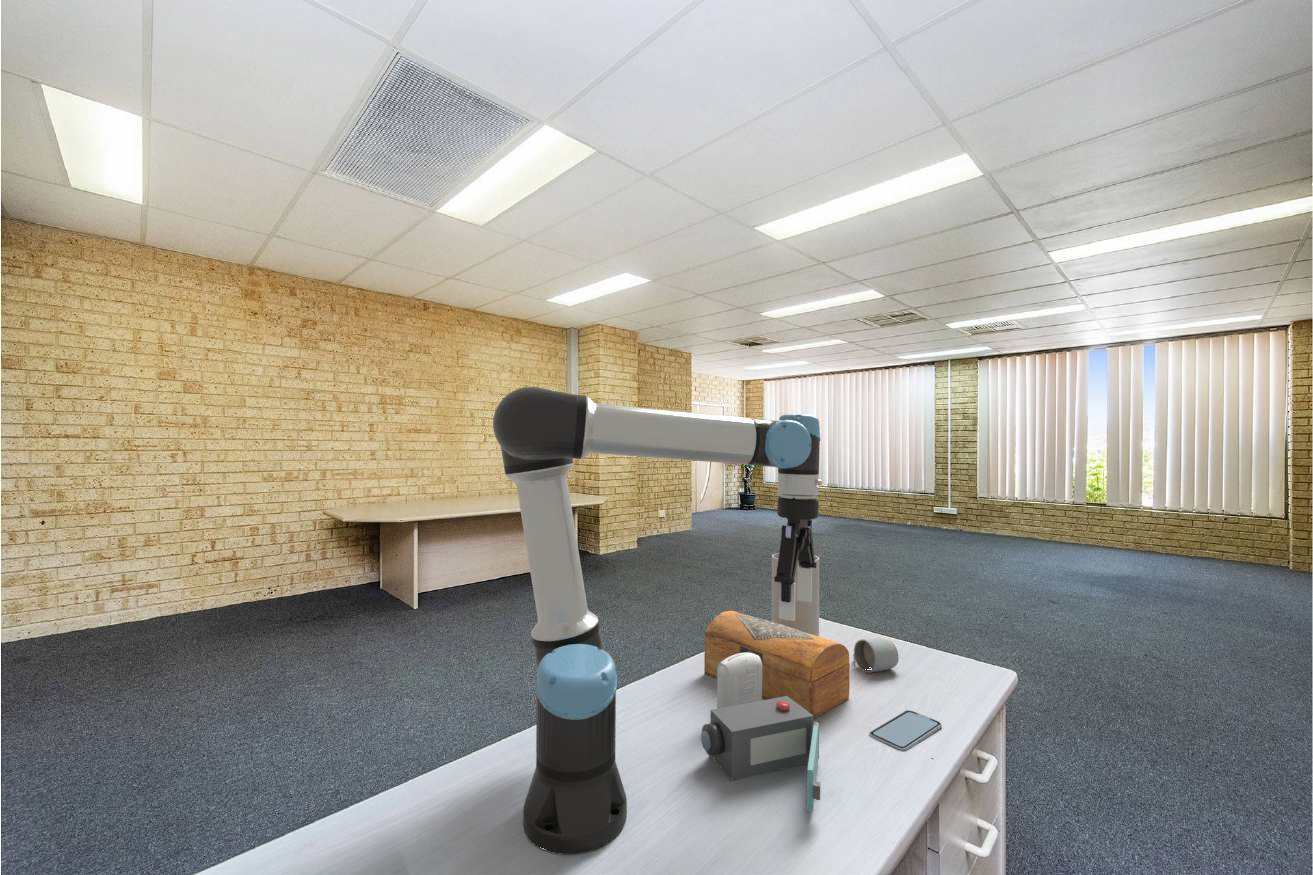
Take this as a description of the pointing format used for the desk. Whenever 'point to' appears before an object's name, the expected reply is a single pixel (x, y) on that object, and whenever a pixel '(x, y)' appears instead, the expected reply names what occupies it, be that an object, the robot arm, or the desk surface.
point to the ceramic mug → (875, 654)
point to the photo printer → (739, 680)
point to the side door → (813, 769)
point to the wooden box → (783, 660)
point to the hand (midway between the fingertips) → (796, 609)
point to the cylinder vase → (798, 602)
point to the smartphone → (905, 730)
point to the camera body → (758, 737)
